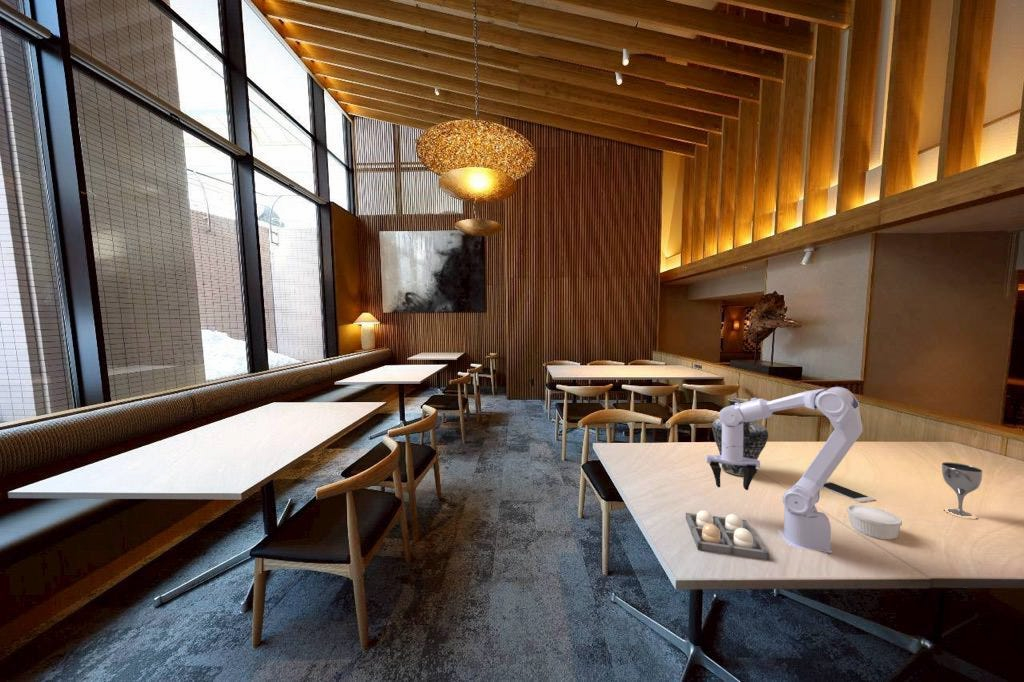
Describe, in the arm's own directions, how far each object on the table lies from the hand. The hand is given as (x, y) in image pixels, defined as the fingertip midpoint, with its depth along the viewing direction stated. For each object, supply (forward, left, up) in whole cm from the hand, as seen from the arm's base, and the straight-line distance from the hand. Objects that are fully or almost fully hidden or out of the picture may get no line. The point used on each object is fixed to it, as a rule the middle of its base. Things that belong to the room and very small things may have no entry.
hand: (731, 487), depth 112 cm
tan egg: (+10, +18, -9) cm, 22 cm away
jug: (-14, -40, -10) cm, 43 cm away
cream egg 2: (+2, +10, -9) cm, 14 cm away
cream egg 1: (+10, +10, -9) cm, 17 cm away
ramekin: (-37, -2, -10) cm, 38 cm away
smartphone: (-44, -30, -10) cm, 54 cm away
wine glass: (-70, -21, -10) cm, 74 cm away
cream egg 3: (+2, +18, -9) cm, 20 cm away
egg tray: (+6, +14, -9) cm, 18 cm away
